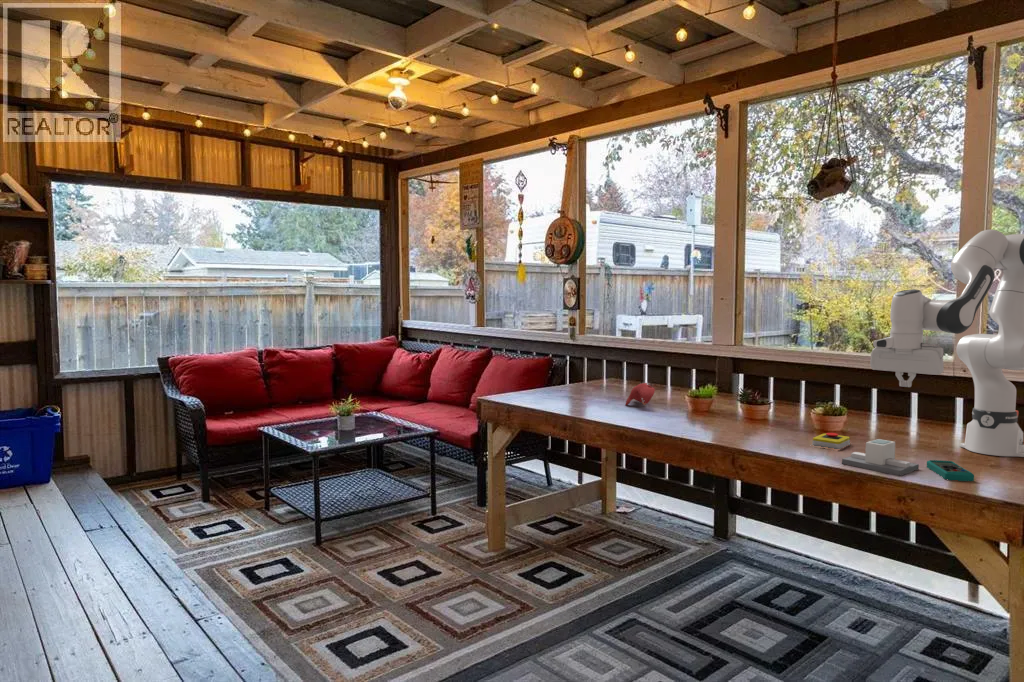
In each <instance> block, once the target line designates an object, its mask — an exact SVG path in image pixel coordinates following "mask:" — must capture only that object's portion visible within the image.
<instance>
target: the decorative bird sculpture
mask: <svg viewBox="0 0 1024 682" xmlns="http://www.w3.org/2000/svg"><path fill="white" fill-rule="evenodd" d="M655 391H656V389H655V387H653V386H651V385H649V384H648V382H642V383H639V384H636V386H633V388H632V389H631V392H630V393H629V395H628V397H627V399H626V401H625V405H624V406H628V405H629V404H630V403H631V402H632V400H635V401H637V402H639V403H642V405H644V406H645V405H648V404H649V402H650V401H651V399H652V397H654V394H655Z"/></svg>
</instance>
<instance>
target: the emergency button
mask: <svg viewBox="0 0 1024 682" xmlns="http://www.w3.org/2000/svg"><path fill="white" fill-rule="evenodd" d="M811 443H812V444H811V445H814V446H821V447H828V448H834V449H841V448H843V447H845V446H847V445H849V446H851V445H850V443H851V438H850V436H847V435H839V433H836V432H827V433H822V434H819V435H817V436H814V437H812V442H811ZM847 447H848V446H847ZM845 448H846V447H845ZM843 449H844V448H843ZM841 450H842V449H841Z"/></svg>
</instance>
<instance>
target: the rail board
mask: <svg viewBox="0 0 1024 682" xmlns="http://www.w3.org/2000/svg"><path fill="white" fill-rule="evenodd" d="M841 464H842V465H846V464H847V465H846V466H851V465H852V466H853V467H857V468H861V469H866V470H871V471H875V472H881V473H885V474H890V475H895V476H899V477H902V476H903V474H904V475H906V474H910V473H912V472H915V471H917V469H918V470H919V466H920V465H919V463H913V462H910V461H905V460H900V459H896V458H895V459H891V458H889V459H886V460H885V464H884V465H878V464H873V463H868V462H865V453H864V452H859V451H854V452H851V453H850V456H847V457H844V458H841ZM914 470H915V471H914Z"/></svg>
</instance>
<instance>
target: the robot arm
mask: <svg viewBox="0 0 1024 682" xmlns="http://www.w3.org/2000/svg"><path fill="white" fill-rule="evenodd" d="M994 269H999V270H1002V272H1003V274H1002V276H1001V277H1000V280H999V282H998V285H997V287H996V290H995V293H994V296H993V298H992V301H991V305H990V309H989V312H988V314H989V317H990V318H991V320H993V321H994V322H995V323H996V324H998V332H997V334H991V333H990V334H989V333H973V334H968V335H964V336H963V337H961V338H960V339H959V340H958V342H957V344H956V355H957V358H958V359H959V360H960V361H962V362H963V364H964V365H965V366H966V367H967V369H968V371H969V372H970V375H971V378H972V380H973V387H974V407H973V408H972V412H971V414H972V415H971V418H972V420H971V421H969V422H968V423H967V424H966V431H965V439H964V442H960V444H959V447H961V448H964V449H966V450H967V451H970V452H973V453H978V454H982V455H989V456H997V457H998V456H999V457H1020V458H1024V431H1023V430H1022V428H1021V427H1020V425H1019V423H1018V421H1019V420H1018V418H1019V414H1020V413H1019V410H1016V406H1017V404H1016V403H1017V388H1016V385H1015V384H1013V383H1012V382H1011V381H1010V380H1009V379H1008V378H1007V377H1006V376H1005V374H1004V372H1003V370H1012V371H1022V370H1024V233H1015V234H1014V233H1013V234H1011V233H1010V234H1008V235H1007V234H1006V235H1005V234H1004V233H1003V232H1001V231H998V230H997V229H990V228H989V229H985V230H981V231H979V232H978V233H977V234H975V235H974V236H972V237H971V238H970V239H969V240H967V242H966V243H965V244H964V245H963V246H962V247H961V248H960V250H958V251H957V253H956V254H955V255H954V257H953V258H952V259H951V262H950V270H951V272H952V274H953V276H954V277H955V279H956V280H958V281H959V282H960V283H962V284H964V285H966V286H965V287H964V288H963V291H962V292H961V294H960V296H958V297H956V298H952V299H944V300H943V299H932V298H929V297H926V296H925V295H924V294H923V293H922V291H921V290H920V289H907V290H906V289H903V290H899V291H897V292H895V293H894V294H893V296H892V299H891V305H890V316H889V317H890V318H889V319H890V323H891V328H890V331H889V336H887V337H886V336H885V337H884V338H880V339H876V340H874V341H873V345H872V346H873V347H874V348H872V350H871V353H870V361H869V366H870V368H871V370H873V371H885V372H895V377H896V378H897V380H898V385H899V387H904V388H911V387H912V385H913V380H914V379H915V378H916V376H917V374H922V375H933V376H934V375H936V376H937V375H941V374H943V372H944V370H945V369H944V366H945V365H944V353H945V351H944V347H942V346H941V345H939V344H938V343H927V342H924V331H930V332H944V333H949V334H957V335H958V334H963V333H964V332H966V331H967V330H969V328H970V327H972V325H973V323H974V320H975V317H976V314H977V312H978V310H979V308H980V306H981V304H982V302H983V301H984V299H985V298H986V296H987V294H988V292H989V291H990V289H991V287H992V286H993V284H994V281H995V272H994ZM904 373H907V376H908V378H907V380H905V379H904V377H903V375H904Z"/></svg>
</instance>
